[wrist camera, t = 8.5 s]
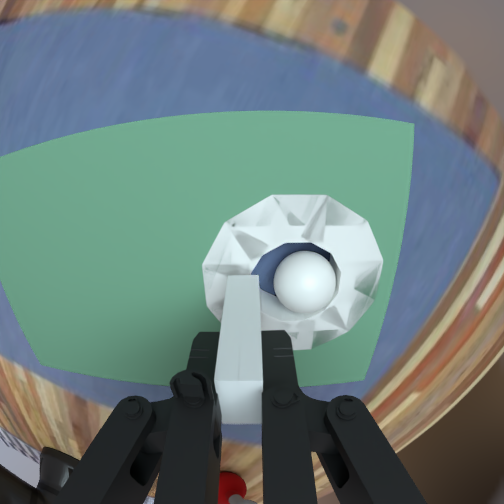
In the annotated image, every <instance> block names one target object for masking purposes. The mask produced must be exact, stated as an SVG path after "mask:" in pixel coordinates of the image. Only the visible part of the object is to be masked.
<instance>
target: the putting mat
mask: <svg viewBox="0 0 504 504" xmlns="http://www.w3.org/2000/svg"><path fill="white" fill-rule="evenodd" d="M413 143H414V124H412V123H407V122H401V121H395V120H388V119H381V118H374V117H366V116H357V115H347V114H336V113H322V112H303V111H234V112H215V113H201V114H190V115H180V116H171V117H163V118H155V119H148V120H141V121H135V122H129V123H123V124H118V125H113V126H108V127H103V128H98V129H93V130H89V131H85V132H80V133H76V134H72V135H68V136H64V137H61V138H57V139H54V140H50V141H47V142H43V143H40V144H37V145H33V146H30V147H27V148H24V149H21V150H18V151H15V152H13V153H10V154H7V155H4V156H2V157H0V280H1V283H2V286H3V288H4V291H5V293H6V296H7V298H8V300H9V303H10V305H11V307H12V310H13V312H14V314H15V316H16V318H17V320H18V323H19V325H20V327H21V329H22V331H23V333H24V335H25V337H26V339H27V340H28V342H29V344H30V346H31V348H32V350H33V352H34V353H35V355H36V357H37V359H38V360H39V362H40V364H41V365H44V366H48V367H52V368H56V369H61V370H65V371H70V372H74V373H79V374H84V375H90V376H95V377H101V378H107V379H113V380H120V381H127V382H135V383H143V384H152V385H162V386H170V384H169V382H170V380H171V379H172V377H173V376H174V375H175V374H177V373H178V372H181V371H183V370H186V368H187V363H188V359H189V355H190V351H191V346H192V342H193V339H194V338H195V337H196V335H197V334H198V333H199V332H220V329H221V322H222V314H223V307H224V300H225V292H226V285H227V278H228V276H229V275H251V272H252V271H253V269H254V268H255V266H256V265H257V263H258V261H259V260H260V258H261V257H262V255H264V254H266V253H267V252H269V251H271V250H273V249H275V248H277V247H278V246H280V245H282V244H284V243H307V242H311V243H313V244H315V245H317V246H319V247H320V248H322V249H324V250H326V251H328V252H329V253H330V262H329V263H330V264H331V266H332V267H333V270H334V272H335V277H336V288H335V292H334V294H333V296H332V298H331V300H330V301H329V302H328V303H327V304H326V305H325V306H324V307H323V308H321V309H320V310H318V311H316V312H312V313H297V312H294V311H291V310H289V309H288V308H286V307H285V306H284V305H283V304H282V303H281V302H280V301H279V299H278V297H277V296H274V295H272V294H270V293H268V292H266V291H263V290H261V288H260V287H259V295H260V319H261V331H266V330H285V331H286V332H287V333H288V335H289V336H290V337H291V341H292V347H293V354H294V360H295V366H296V373H297V379H298V385H299V387H306V386H318V385H328V384H337V383H346V382H353V381H361V380H364V379H365V376H366V373H367V370H368V367H369V365H370V362H371V359H372V356H373V353H374V350H375V347H376V344H377V340H378V337H379V334H380V331H381V327H382V324H383V320H384V317H385V313H386V310H387V306H388V302H389V298H390V294H391V290H392V286H393V282H394V277H395V273H396V268H397V264H398V259H399V254H400V249H401V244H402V238H403V232H404V226H405V220H406V213H407V206H408V198H409V190H410V181H411V171H412V159H413Z"/></svg>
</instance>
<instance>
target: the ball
mask: <svg viewBox="0 0 504 504" xmlns="http://www.w3.org/2000/svg"><path fill="white" fill-rule="evenodd" d="M335 288H336V277H335V272H334V270H333V267H332V266H331V264H330V263H329V262H328V260H327V259H325V258H324V257H323V256H322V255H320V254H318V253H315V252H312V251H298V252H295V253H292V254H290V255H289V256H287V257H286V258H285V259H283V260H282V261H281V263H280V264H279V266H278V267H277V269H276V272H275V275H274V290H275V293H276V295H277V297H278V299H279V301H280V302H281V303H282V304H283V305H284V306H285V307H286V308H288V309H289V310H291V311H294V312H297V313H312V312H316V311H318V310H320V309H321V308H323V307H324V306H325V305H326V304H327V303H328V302H329V301H330V300H331V298H332V296H333V294H334V292H335Z"/></svg>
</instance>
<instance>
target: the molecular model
mask: <svg viewBox="0 0 504 504" xmlns="http://www.w3.org/2000/svg"><path fill="white" fill-rule="evenodd" d="M246 491H247V487H246V484H245V482H244V480H243V479H242V478H241V477H240V476H238V475H236V474H234V473H230V472H222V473H220V476H219V493H218V504H257V503H256V502H254V501H251V500H244V499H243V498H244V497H245V495H246Z"/></svg>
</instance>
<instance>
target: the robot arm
mask: <svg viewBox="0 0 504 504" xmlns="http://www.w3.org/2000/svg"><path fill="white" fill-rule="evenodd" d="M169 384H170V387H171V390H172V392H173V395H174V397H172V398H170V399H167V400H163V401H157V402H151V403H150V402H149V401H148V400H147V399H145V398H144V397H141V396H129V397H126V398H124V399H122V400H121V401H120V402H119V403H118V404H117V406H116V407H115V409H114V410H113V412H112V413H111V415H110V416H109V418H108V419H107V421H106V422H105V424H104V425H103V426H102V428H101V429H100V431H99V432H98V434H97V435H96V437H95V438H94V440H93V441H92V443H91V444H90V446H89V447H88V449H87V450H86V452H85V454H84V455H83V457H82V458H81V460H80V461H78V460H76V459H74V458H72V457H70V456H68V455H66V454H64V453H62V452H59V451H57V450H54V449H51V448H47V447H44V448H43V449H42V452H41V454H40V480H39V483H38V485H37V488H35V487H33V486H31V485H30V484H28V483H27V482H25V481H23V480H22V479H20V478H19V477H17V476H16V475H15V474H13V473H12V472H10V471H9V470H8V469H6V468H5V467H3V466H2V465H1V464H0V504H143V503H144V501H145V499H146V497H147V495H148V493H149V491H150V489H151V487H152V485H153V483H154V481H155V479H156V477H157V475H158V473H159V477H158V482H157V488H156V493H155V499H154V504H218V493H219V476H220V461H221V446H222V433H221V420H222V424H262V464H263V504H317V496H316V488H315V479H314V472H313V464H312V456H311V451H313V452H316V453H317V455H318V458H319V460H320V462H321V464H322V466H323V468H324V470H325V473H326V475H327V477H328V479H329V481H330V483H331V485H332V487H333V489H334V492H335V493H336V496H337V498H338V500H339V502H340V504H427V503H426V501H425V499H424V498H423V496H422V495H421V493H420V491H419V490H418V488H417V487H416V485H415V483H414V482H413V480H412V479H411V477H410V475H409V474H408V472H407V471H406V469H405V468H404V466H403V464H402V463H401V461H400V459H399V458H398V457H397V455H396V453H395V452H394V450H393V448H392V447H391V445H390V444H389V442H388V441H387V439H386V437H385V436H384V434H383V433H382V431H381V430H380V428H379V426H378V425H377V423H376V422H375V420H374V419H373V417H372V415H371V414H370V412H369V411H368V409H367V408H366V406H365V405H364V403H363V402H362V401H361V400H360V399H358V398H356V397H354V396H348V395H343V396H338V397H336V398H334V399H332V400H331V401H330V402H326V401H320V400H316V399H312V398H310V397H308V396H306V395H305V394H304V393H303V392H302V391H301V389H300V388H299V385H298V379H297V373H296V366H295V360H294V354H293V347H292V341H291V337H290V336H289V335H288V333H287V332H286V331H285V330H266V331H261V319H260V295H259V275H229V276H228V278H227V285H226V292H225V300H224V307H223V314H222V322H221V329H220V332H199V333H198V334H197V335H196V337H195V338H194V339H193V342H192V346H191V351H190V355H189V359H188V363H187V368H186V370H183V371H181V372H178V373H177V374H175V375H174V376H173V377H172V379H171V380H170V382H169Z"/></svg>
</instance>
